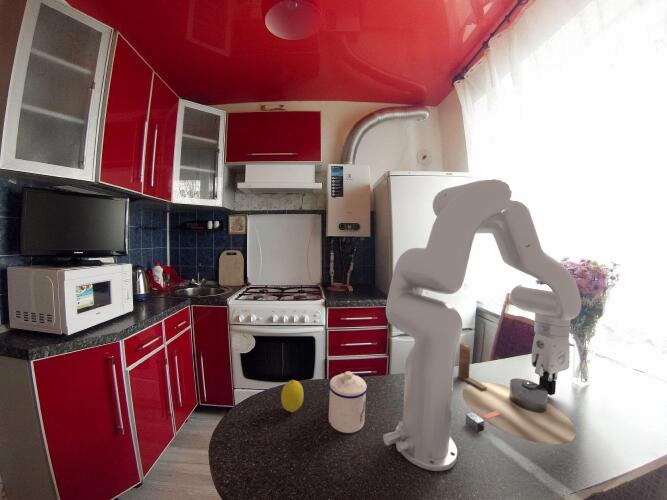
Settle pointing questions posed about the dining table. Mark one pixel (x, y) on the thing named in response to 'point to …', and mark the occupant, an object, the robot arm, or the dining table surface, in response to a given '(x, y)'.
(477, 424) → the speckled grey block
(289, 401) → the lemon
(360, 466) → the dining table surface
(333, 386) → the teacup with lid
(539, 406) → the cover
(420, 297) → the robot arm
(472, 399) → the turntable
